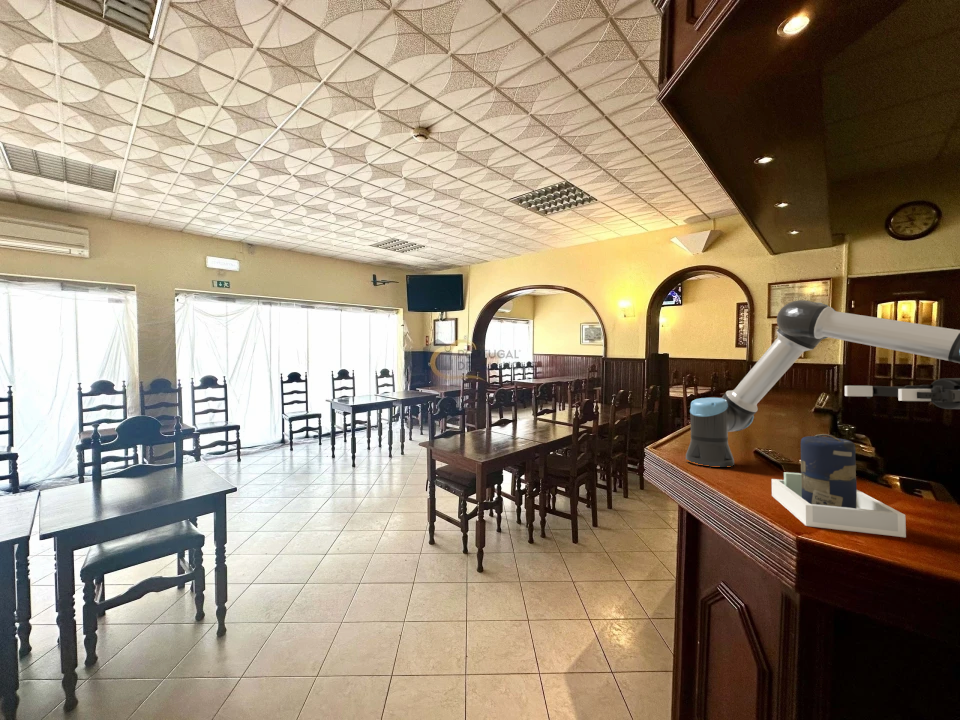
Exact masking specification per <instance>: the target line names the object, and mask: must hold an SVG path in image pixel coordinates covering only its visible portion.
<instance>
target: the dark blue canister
mask: <svg viewBox="0 0 960 720" xmlns="http://www.w3.org/2000/svg"><path fill="white" fill-rule="evenodd" d="M856 462H857V461H856V445H855V443H854V442H853V441H851V440H847V439H843V438H838V437H835V436H833V435H830V434H826V433H822V434H821V433H820V434H815V435H813V436H812V435H807V436H804V437H802V438H801V439H800V473H801V483H802V498H803V499H804V500H806V501H807V502H808V503H810V504H817V505H827V506H837V507H847V508H856V498H857V490H858V489H857V485H858V484H857V476H856V475H857V473H856V471H857V464H856Z"/></svg>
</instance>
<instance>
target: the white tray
mask: <svg viewBox="0 0 960 720" xmlns="http://www.w3.org/2000/svg"><path fill="white" fill-rule="evenodd" d="M771 497H773V499H775V501H777V502H778V503H780V505H782V506H783V507H784V508H785V509H787V511H789V512H790V513H791V514H792V515H793V516H794V517H795V518H796V519H798V520H799V521H800V522H801V523H802V524H803V525H804V526H806V527H813V528H821V529H830V530H831V529H832V530H837V531H838V530H839V531H847V532H857V533H864V534H872V535H883V536H892V537H898V538H899V537H900V538H907V529H906V528H907V526H906V524H907V523H906V522H907V521H906V514H904V513H902V512H900V511H899V510H897V509H894V508H893V507H891V506H889V505H887V504H885V503H883V502H882V501H880V500H877V499H875V498H874V497H872V496H870V495H868V494H866V493H864V492H863V491H860V490H858V489H857V498H856V508H847V507H837V506H827V505H817V504H810V503H808V502H807V501H806V500H804V499H803V498H802V497H800V496H799V495H797V494H796V493H795V492H793V491H792V490H791V489H789V488H788V487H787V486H785V485H784V479H779V478H771Z"/></svg>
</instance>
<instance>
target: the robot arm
mask: <svg viewBox="0 0 960 720" xmlns="http://www.w3.org/2000/svg"><path fill="white" fill-rule="evenodd" d="M776 324H777V327H778V328H777V329H776V336H777V338H776V339H775V340H774V341H773V342H772V344H770V346H769V348H768V349H767V350H766V351H765V352H764V353H763V355H762V356H761V357H759V359H758V360H757V361H756V363H755V364H754V365H753V366H752V368H751V369H750V370H749V371H748V373H747V374H745V376H744V377H743V378H742V379H741V380H740V382H739V383H738V385H737V386H736V387H735V388H734V389H733V390H727V391H726V392H725V393H724V394H723V395H722V397H701V398H696V399H694V400H692V401H691V402H690V409H689V413H690V443H689V444H688V445H689V446H688V448H687V450H686V452H685V460H686V459H687V460H689V461H691V462H695V463H698V464H703V465H709V466H720V467H727V466H733V465H734V466H735V459H734V456H733V453H732V451H731V448H730V446H729V440H728V439H729V434H728V433H731V432H738V431H739V432H740V431H743V430H745V429H746V428H748V427H749V426H751V424H752V423H753V421H754V419H755V416H754V415H755V414H756V413H757V412H758V409H759V408H758V403H760V401H761V400H763V398H764V397H765V396H766V395H767V394H768V392H770V390H771V389H772V388H773V387H774V386H775V385H776V383H777V382H778V381H779V380H780V379H781V378H782V377H783V376H784V374H786V372H787V371H788V370H789V369H790V368H791V367H792V366H793V364H794V363H795V362H796V361H797V360H799V358H800V356H801V355H802V354H803V353H804V352H807V351H813V350H814V349H815V348H816V347H817V346H818V345H819V344H820V342H821V341H823V340H824V339H827V338H830V339H835V340H841V341H846V342H850V343H856V344H862V345H866V346H870V347H871V346H872V347H876V348H881V349H882V348H883V349H886V350H887V349H888V350H893V351H897V352H902V353H907V354H911V355H916V356H917V355H918V356H922V357H928V358H933V359H938V360H944V361H946V362H947V361H948V362H953V363H958V364H960V329H956V328H955V329H954V328H947V327H943V326H937V325H936V326H935V325H934V326H933V325H929V324H928V325H927V324H923V323H922V324H921V323H915V322H909V321H901V320H895V319H887V318H882V317H875V316H868V315H862V314H861V315H860V314H855V313H849V312H843V311H836V310H835V309H834V308H833V307H831V306H829V305H828V304H825V303H823V302H815V301H811V300H804V299H799V300H793V301H790V302H788V303H787V304H784V306H782V307H781V309H780V310H779V311H778V313H777V315H776ZM844 396H845V397H866V399H871V398H872V397H893V398H894V397H897V398H898V401H899V402H900V401H902V402H930V403H932V404H933V405H935V406H936V407H938V408H941V409H945V410H960V377H954V378H953V377H952V378H949V377H947V378H946V377H942V378H938V379H935V380H934V381H933V382H931V384H920V385H904V386H882V385H844Z"/></svg>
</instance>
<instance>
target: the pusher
mask: <svg viewBox="0 0 960 720" xmlns="http://www.w3.org/2000/svg"><path fill="white" fill-rule="evenodd" d="M783 480H784V485H785V486H787V487H788V488H789V489H791V490H792V491H793V492H795V493H796V494H797V495H799V496H800V497H802V483H801V472H789V471H786V472H785V471H784V472H783Z"/></svg>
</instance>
